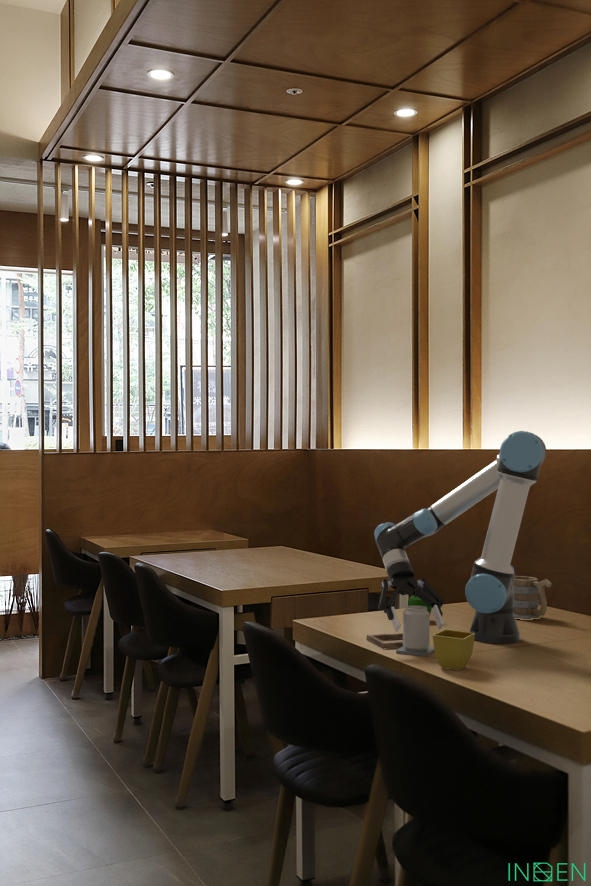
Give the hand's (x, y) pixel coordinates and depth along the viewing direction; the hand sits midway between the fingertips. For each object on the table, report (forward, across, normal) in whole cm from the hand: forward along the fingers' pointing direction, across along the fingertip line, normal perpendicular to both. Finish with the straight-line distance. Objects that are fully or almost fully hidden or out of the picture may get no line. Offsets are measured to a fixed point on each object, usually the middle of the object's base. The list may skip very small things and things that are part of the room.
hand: (419, 627), depth 234 cm
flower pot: (+18, -1, +7) cm, 19 cm away
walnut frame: (-5, +2, -15) cm, 16 cm away
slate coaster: (+3, 0, -7) cm, 8 cm away
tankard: (-23, -62, -34) cm, 74 cm away
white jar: (+3, 0, -6) cm, 7 cm away
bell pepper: (-28, -22, -38) cm, 52 cm away
